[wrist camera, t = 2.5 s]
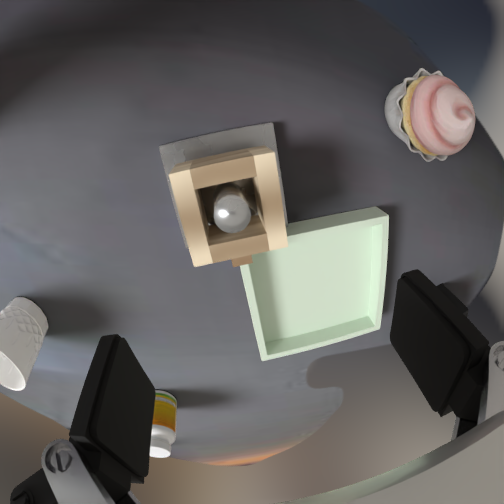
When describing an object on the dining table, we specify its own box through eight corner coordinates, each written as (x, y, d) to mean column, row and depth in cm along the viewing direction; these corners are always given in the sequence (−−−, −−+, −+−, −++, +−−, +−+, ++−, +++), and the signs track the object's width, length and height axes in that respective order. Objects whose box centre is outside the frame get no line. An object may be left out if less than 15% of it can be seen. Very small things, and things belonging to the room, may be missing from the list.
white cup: (39, 292, 29) (4, 345, 20) (60, 340, 33) (36, 395, 24) (-1, 292, 28) (-36, 339, 20) (20, 336, 32) (-6, 385, 23)
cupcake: (423, 64, 23) (489, 62, 14) (443, 140, 27) (506, 159, 19) (357, 79, 24) (420, 73, 15) (384, 164, 28) (446, 191, 19)
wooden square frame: (175, 164, 22) (168, 174, 18) (264, 145, 22) (274, 152, 19) (200, 260, 26) (200, 284, 22) (279, 243, 26) (290, 265, 23)
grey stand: (161, 145, 25) (138, 160, 17) (270, 122, 25) (296, 127, 17) (187, 243, 29) (180, 293, 21) (285, 222, 30) (312, 265, 22)
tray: (233, 234, 30) (235, 247, 27) (375, 206, 30) (388, 215, 28) (258, 345, 37) (261, 361, 34) (370, 315, 37) (379, 328, 35)
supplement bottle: (140, 387, 38) (133, 442, 30) (176, 390, 39) (174, 446, 31) (145, 406, 41) (139, 457, 32) (177, 409, 42) (176, 461, 33)
